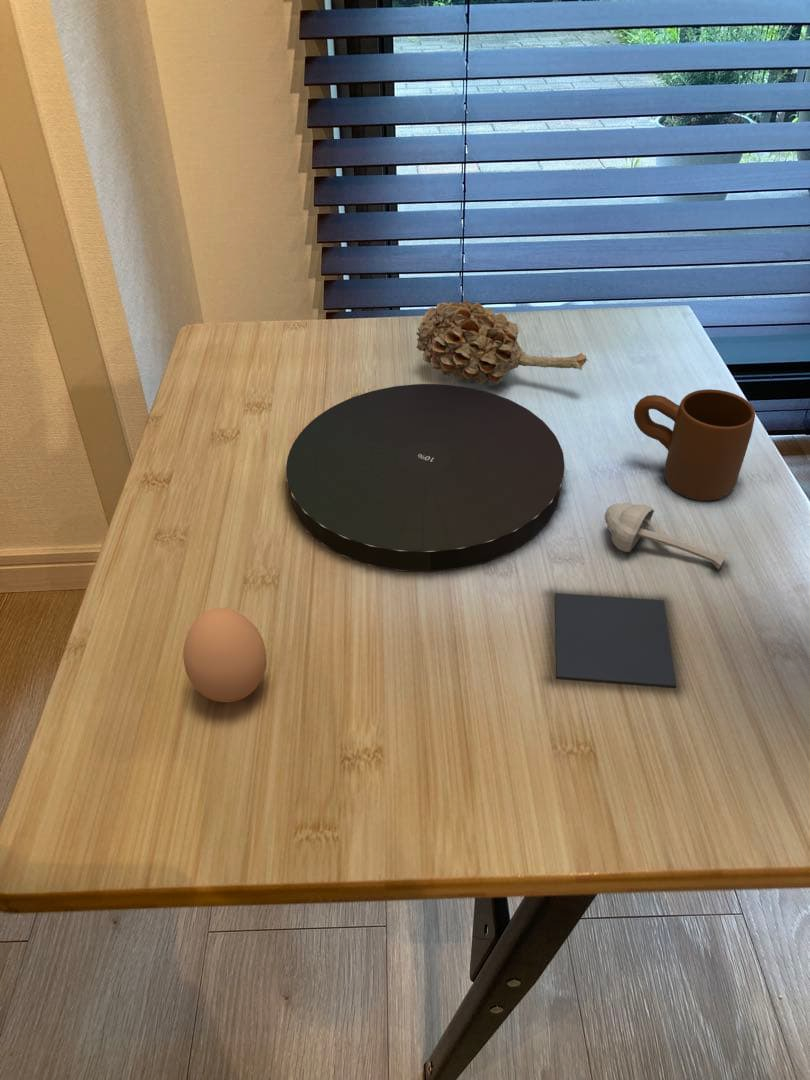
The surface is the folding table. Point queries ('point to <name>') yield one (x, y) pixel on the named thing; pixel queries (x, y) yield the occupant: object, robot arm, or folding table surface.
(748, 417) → the mug
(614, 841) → the folding table surface
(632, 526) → the mushroom
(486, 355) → the pine cone
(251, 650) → the egg
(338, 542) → the disc
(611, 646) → the coaster
